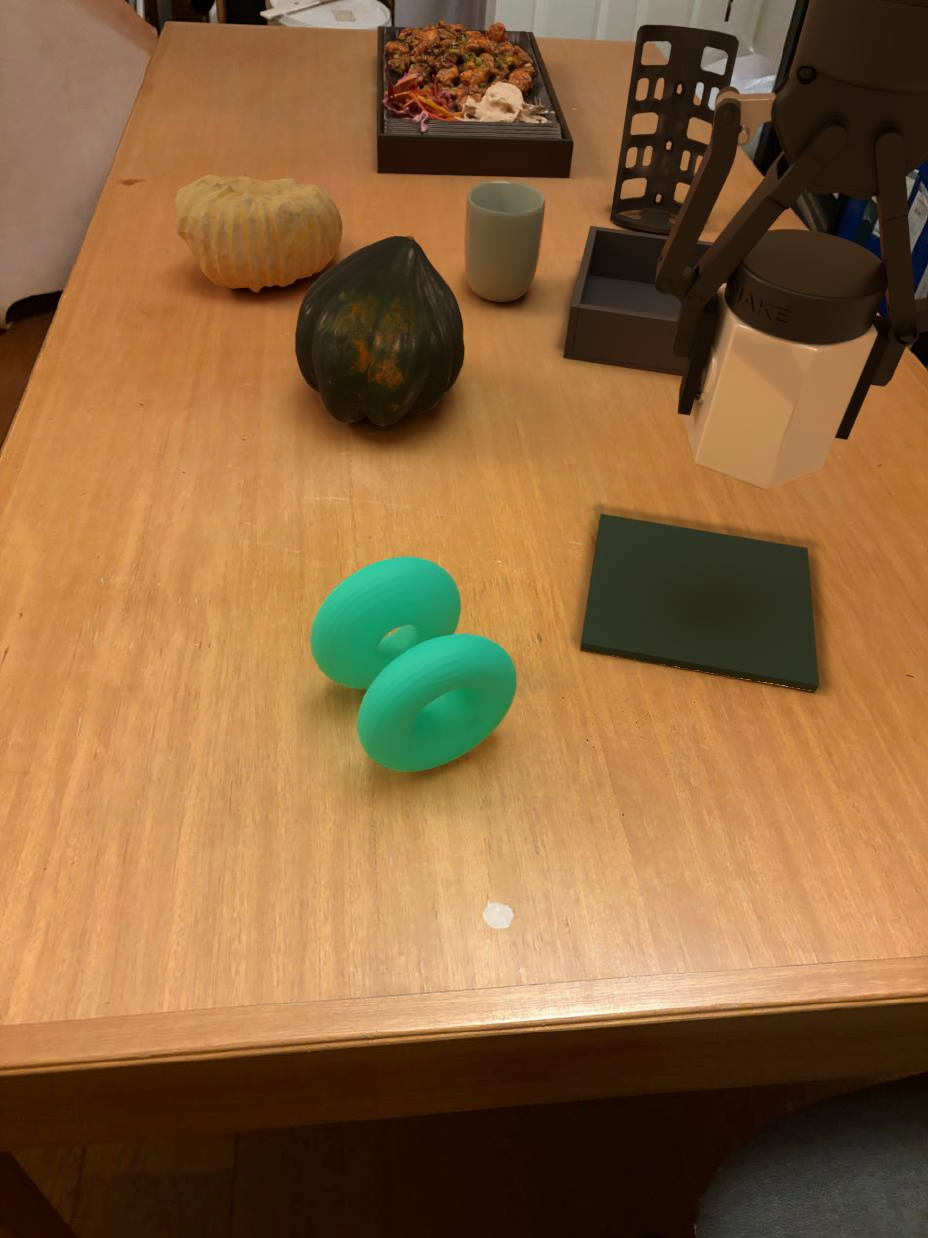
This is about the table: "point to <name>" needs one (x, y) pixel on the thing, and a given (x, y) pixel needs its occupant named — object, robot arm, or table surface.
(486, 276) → the cup
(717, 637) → the mat
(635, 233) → the tub
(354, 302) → the squash
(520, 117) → the food platter
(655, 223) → the holder
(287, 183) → the pale yellow ribbed round
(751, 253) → the jar
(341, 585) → the donuts
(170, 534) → the table surface
